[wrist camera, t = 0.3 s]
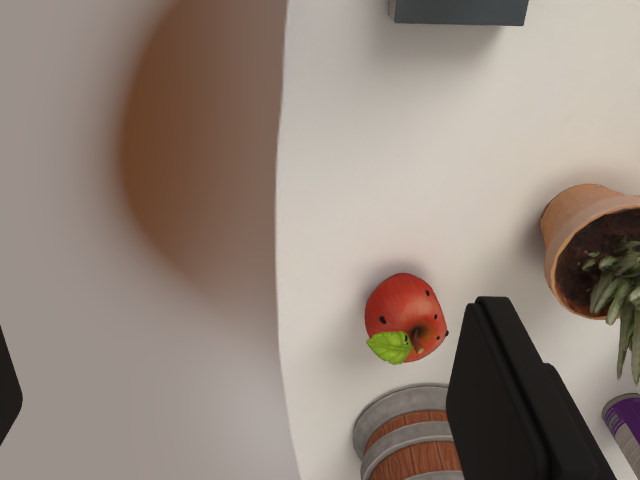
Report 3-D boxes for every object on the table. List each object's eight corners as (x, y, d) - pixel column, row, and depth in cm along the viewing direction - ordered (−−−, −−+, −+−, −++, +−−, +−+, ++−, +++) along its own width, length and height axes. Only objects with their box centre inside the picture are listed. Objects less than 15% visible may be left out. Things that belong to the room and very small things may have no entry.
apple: (449, 263, 47) (482, 344, 38) (423, 325, 50) (448, 412, 41) (361, 247, 45) (374, 325, 37) (341, 311, 49) (348, 397, 40)
